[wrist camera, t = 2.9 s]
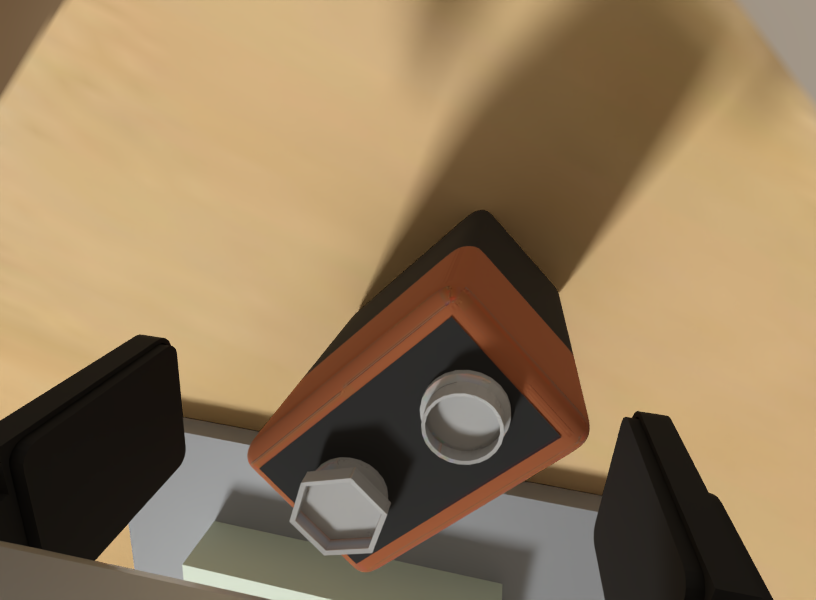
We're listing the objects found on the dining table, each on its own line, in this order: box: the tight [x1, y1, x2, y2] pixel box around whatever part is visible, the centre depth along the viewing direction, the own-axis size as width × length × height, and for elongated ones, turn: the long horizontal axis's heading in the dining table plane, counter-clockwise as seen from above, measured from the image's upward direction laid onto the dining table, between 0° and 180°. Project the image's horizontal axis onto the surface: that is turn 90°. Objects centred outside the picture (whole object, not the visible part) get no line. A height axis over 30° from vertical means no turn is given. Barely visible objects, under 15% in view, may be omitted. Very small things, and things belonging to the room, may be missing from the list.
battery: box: [247, 210, 589, 572], centre depth 15 cm, size 4×7×10 cm, turn 133°
